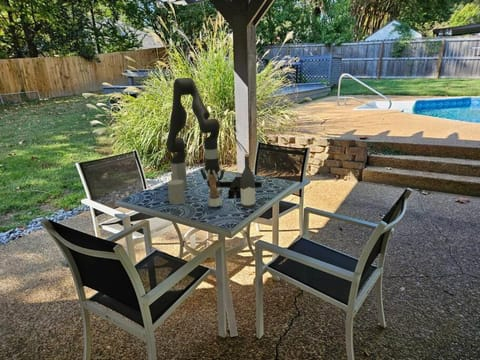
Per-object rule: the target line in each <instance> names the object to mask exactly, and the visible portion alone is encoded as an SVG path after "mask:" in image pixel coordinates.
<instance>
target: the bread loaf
mask: <svg viewBox="0 0 480 360" xmlns="http://www.w3.org/2000/svg"><path fill="white" fill-rule="evenodd" d="M209 182H210V187H209V193H210V194H209V195H212V196H215V195H217V194H218V193H217V188H216V178H215V176H214V174H210V175H209Z"/></svg>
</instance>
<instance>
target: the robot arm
mask: <svg viewBox="0 0 480 360" xmlns="http://www.w3.org/2000/svg"><path fill="white" fill-rule="evenodd" d="M172 93H173V94H172V106H171V107H172V108H171V114H170V119H169V120H170V123H169V129H168V134H167V139H166V144H165V145H166V150H167V152H168V153H170V154H173V153H174V154H175V153H176V154H175V155H174V156H172V157H170V166H171V174H170V176H171V177H170V179H171V180H177V179H179V180H183V181H184V189H185V188H187V187H188V181H187V180H188V179H187V168H186V166H187V165H186V149H185V148H186V146H185V141H184V138H182V137H177V136H178V135H179V133H181V131H182V130H183V129H184V127H185V126H186V123H187V117H188V116H187V115H188V114H187V111H186V109H185V107H184V105H183V103H182V96H189V95H190V97H192V101H191V109H192V113H193V114H194V116H195V117H196V119H197V122H198V128H199V130H200V132H201V133H203V134H210V135H209V136H207V137H205V138H203V139H204V140H203V147H204V151H203V153H204V167H202V168H201V169H200V170H199V171H200V175H201V176H202V178H203V180H205V181H206V184H207V187H208V188H210V182H209V175H210V174H214V176H215V178H216V188H220V187H219V182H220V181H221V180H223V178H224V174H225V171H226V170H225V169H224V168H221V167H220V156H219V155H220V154H219V149H218V139H219V133H220V128H221V127H220V126H221V124H220V122H219V120H218V119H217V118H210V115H211V114H210V112H209V110H208V109H207V107H206V105H205V103H204V102H203V100H202V97H201V95H200V92H199V90H198V88H197V85H196V83H195V81H194V79H193V78H191V77H177V78H175V79H174V81H173V92H172ZM219 173H220V175H219Z"/></svg>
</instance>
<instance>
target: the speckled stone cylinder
mask: <svg viewBox="0 0 480 360" xmlns="http://www.w3.org/2000/svg"><path fill="white" fill-rule="evenodd" d="M167 192H168V199H169V200H168V201H169V204H170V205H175V206H176V205H182V204H184V203H185V202H187V201H186V193H185V188H184V181H183V180H179V179H177V180H172V179H171V180H169V181H167Z"/></svg>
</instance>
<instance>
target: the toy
mask: <svg viewBox="0 0 480 360" xmlns="http://www.w3.org/2000/svg"><path fill="white" fill-rule="evenodd" d="M240 180H241V176H235V177H234V179H232V181H219V187H218V188H229V189H228V190H227V191H228V192H227V194H228V199H234V198H236V199H241V184H240ZM262 186H263V184H262V182H260V181H255V188H260V187H262Z"/></svg>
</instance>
